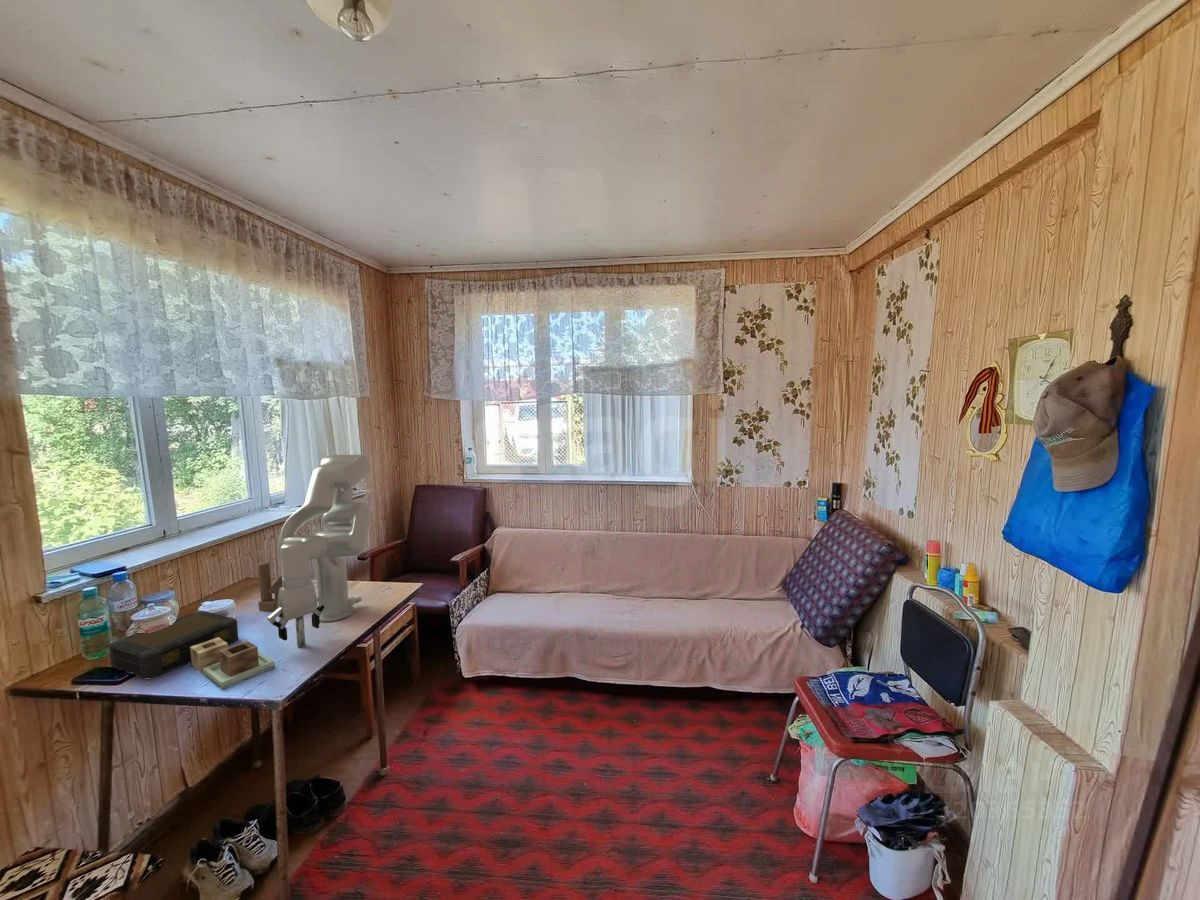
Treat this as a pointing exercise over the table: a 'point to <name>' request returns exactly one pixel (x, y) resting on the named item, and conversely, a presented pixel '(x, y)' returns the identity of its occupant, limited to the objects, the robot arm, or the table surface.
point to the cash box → (170, 643)
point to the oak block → (207, 653)
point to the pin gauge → (300, 632)
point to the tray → (224, 680)
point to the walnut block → (238, 658)
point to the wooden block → (268, 588)
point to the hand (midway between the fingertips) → (300, 633)
